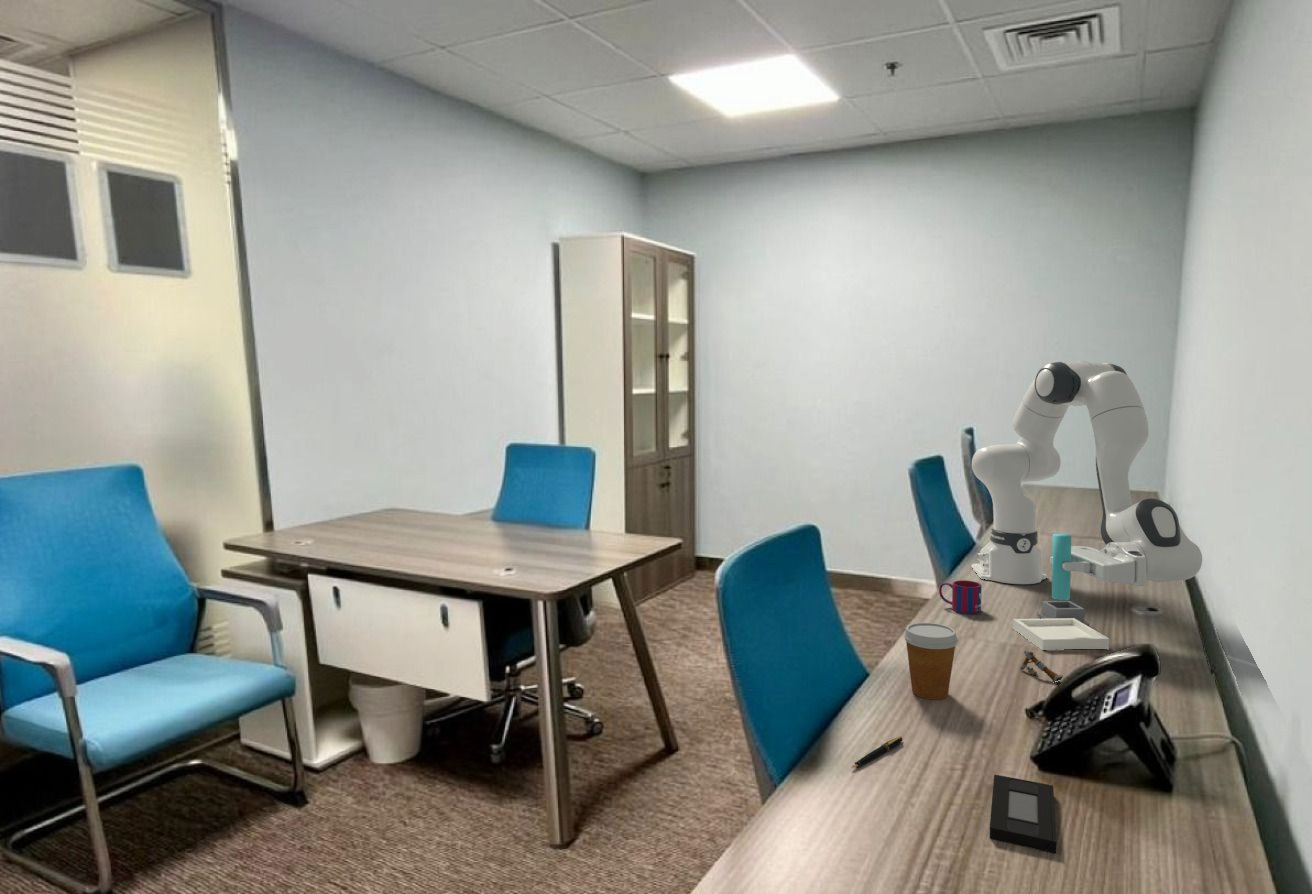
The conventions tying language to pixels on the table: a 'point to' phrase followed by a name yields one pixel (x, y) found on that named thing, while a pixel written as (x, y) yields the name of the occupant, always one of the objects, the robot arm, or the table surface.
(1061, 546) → the dowel
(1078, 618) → the holder
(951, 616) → the table surface
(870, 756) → the fountain pen
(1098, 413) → the robot arm
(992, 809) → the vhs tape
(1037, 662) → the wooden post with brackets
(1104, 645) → the tray
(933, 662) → the disposable coffee cup
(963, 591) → the cup
